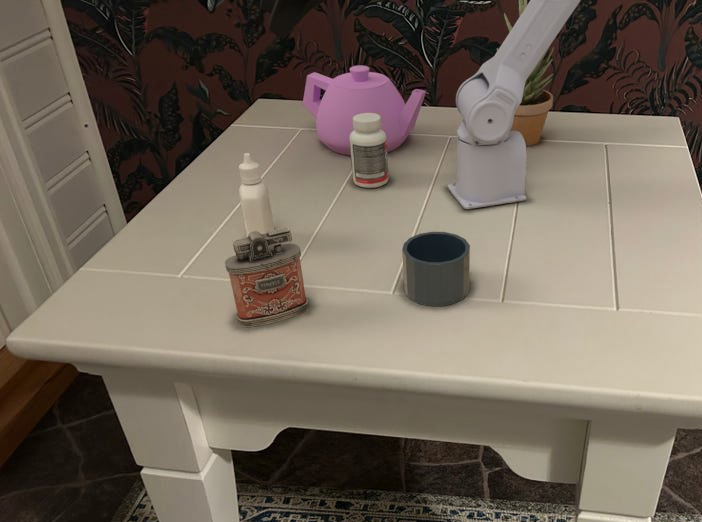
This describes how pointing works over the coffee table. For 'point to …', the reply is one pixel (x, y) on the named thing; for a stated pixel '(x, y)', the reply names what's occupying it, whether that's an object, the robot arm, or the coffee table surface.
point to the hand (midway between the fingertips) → (271, 22)
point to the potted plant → (532, 98)
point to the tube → (436, 268)
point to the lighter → (266, 278)
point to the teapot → (359, 106)
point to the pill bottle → (368, 151)
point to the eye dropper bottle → (254, 198)
